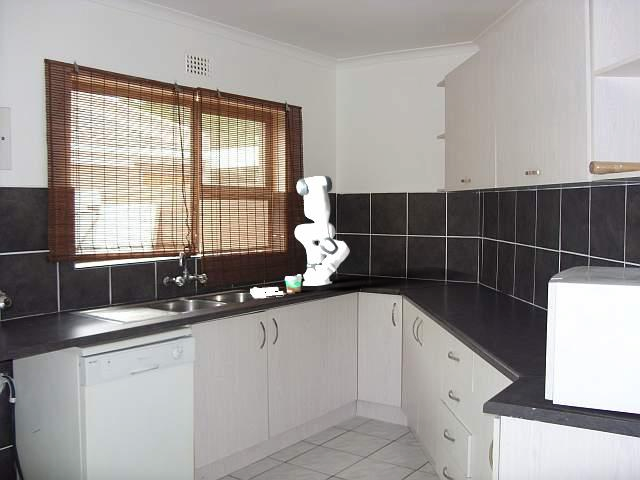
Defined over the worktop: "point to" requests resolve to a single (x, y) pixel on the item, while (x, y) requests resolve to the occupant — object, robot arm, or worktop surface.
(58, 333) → the worktop surface
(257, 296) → the white cutting board
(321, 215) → the robot arm
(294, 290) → the food container
